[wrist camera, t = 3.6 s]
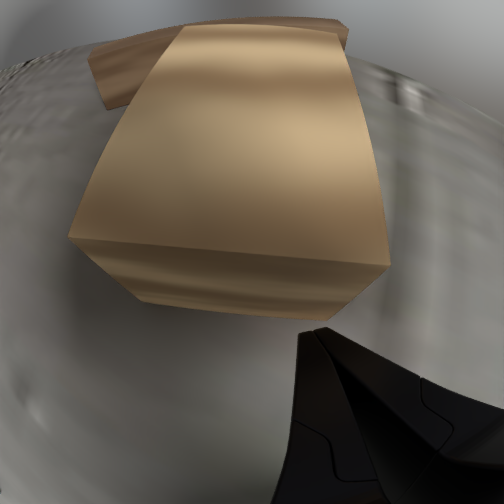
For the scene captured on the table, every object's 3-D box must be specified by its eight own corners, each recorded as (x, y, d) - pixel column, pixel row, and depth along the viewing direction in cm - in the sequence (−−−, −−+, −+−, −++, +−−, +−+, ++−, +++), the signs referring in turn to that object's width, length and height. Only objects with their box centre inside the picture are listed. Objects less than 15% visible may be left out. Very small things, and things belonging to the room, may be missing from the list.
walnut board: (337, 80, 24) (348, 29, 19) (107, 110, 22) (87, 59, 17) (328, 68, 25) (337, 19, 20) (111, 96, 23) (94, 47, 18)
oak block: (325, 321, 15) (390, 265, 8) (143, 302, 15) (67, 236, 8) (319, 118, 22) (336, 33, 14) (197, 110, 22) (184, 26, 15)
